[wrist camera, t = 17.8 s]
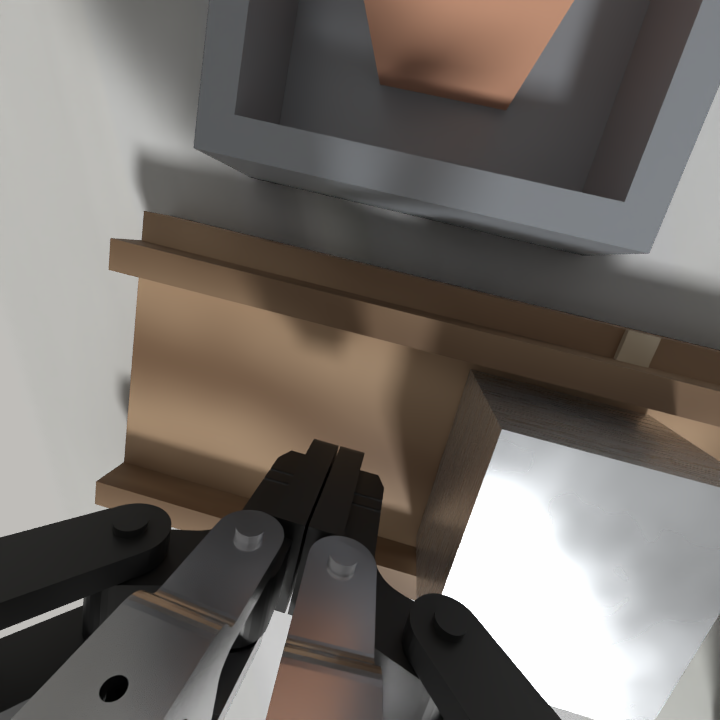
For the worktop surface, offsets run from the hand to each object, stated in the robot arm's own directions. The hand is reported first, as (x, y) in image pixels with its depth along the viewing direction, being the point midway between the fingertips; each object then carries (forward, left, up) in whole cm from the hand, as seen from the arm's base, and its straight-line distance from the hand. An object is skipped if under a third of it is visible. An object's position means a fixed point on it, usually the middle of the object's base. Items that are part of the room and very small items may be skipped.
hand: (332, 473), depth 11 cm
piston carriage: (0, +6, -3) cm, 7 cm away
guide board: (0, +2, -5) cm, 6 cm away
